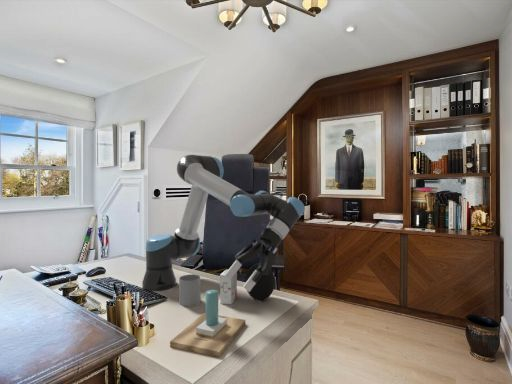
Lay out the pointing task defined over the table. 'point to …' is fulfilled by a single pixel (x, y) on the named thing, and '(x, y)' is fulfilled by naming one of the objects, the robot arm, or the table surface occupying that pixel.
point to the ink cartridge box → (228, 288)
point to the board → (207, 344)
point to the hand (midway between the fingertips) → (236, 282)
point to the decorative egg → (261, 284)
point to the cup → (189, 290)
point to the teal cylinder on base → (211, 317)
